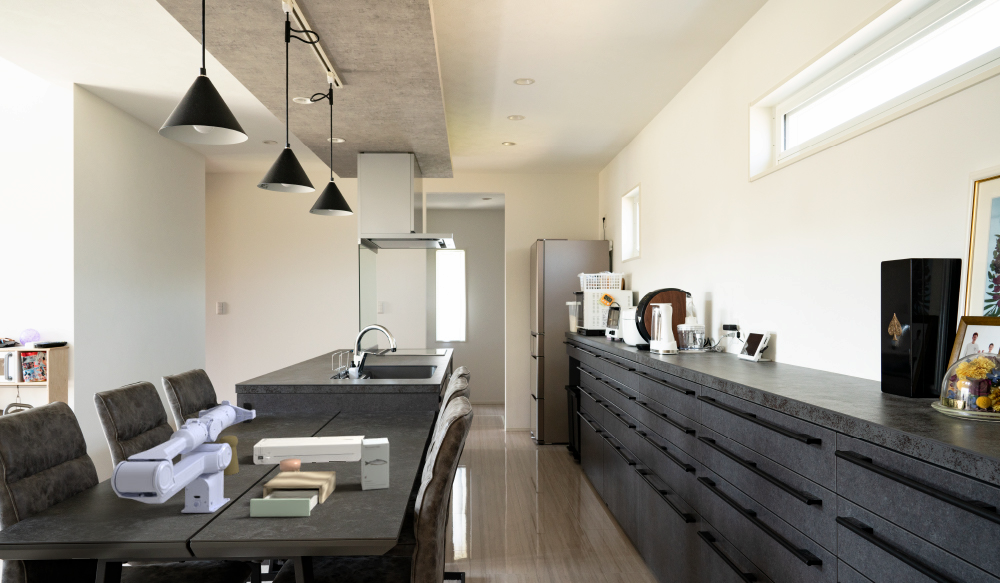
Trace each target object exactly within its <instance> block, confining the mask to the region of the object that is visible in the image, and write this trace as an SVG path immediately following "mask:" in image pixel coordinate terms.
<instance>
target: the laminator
mask: <svg viewBox="0 0 1000 583" xmlns="http://www.w3.org/2000/svg"><path fill="white" fill-rule="evenodd" d="M361 439H366V435H345V436H340V435H339V436H316V437H315V436H313V437H281V438H279V437H278V438H277V437H274V438H272V437H271V438H261V439H260V440H259V441H258V442H256V443H255V444H254V445H253V446H252V464H254V465H255V466H256V465H278V464H279V465H280V461H281V460H284V459H292V458H295V459H300V460H301V464H312V462H316V463H330V462H329V461H346V462H361Z"/></svg>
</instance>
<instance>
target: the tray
mask: <svg viewBox="0 0 1000 583" xmlns="http://www.w3.org/2000/svg"><path fill="white" fill-rule="evenodd" d="M249 502H250V504H249V506H250V507H249V509H250V512H249V515H250V518H252V517H255V518H256V517H259V518H261V517H263V518H264V517H310V516H311V511H312V510H313V509H314V508H315V507H316V505H317V504H319V490H282V491H272V492H271V493H270V494H269V495H268V496H266V497H265V498H264V499H263V498H251V499H250V500H249Z"/></svg>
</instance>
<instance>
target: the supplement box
mask: <svg viewBox="0 0 1000 583" xmlns="http://www.w3.org/2000/svg"><path fill="white" fill-rule="evenodd" d="M388 439H389V438H388V437H380V438H379V437H378V438H365V439H361V460H360V463H361V464H360V466H361V467H360V472H361V473H360V483H361V489H362V491H367V490H377V489H378V490H379V489H389V488H390V442H389V440H388Z"/></svg>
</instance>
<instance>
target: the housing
mask: <svg viewBox="0 0 1000 583" xmlns="http://www.w3.org/2000/svg"><path fill="white" fill-rule="evenodd" d="M336 472H337V471H333V470H331V471H321V470H320V471H300V472H281V471H280V472H278V473H277V474H276V475H274V477H273V478H271V479H270V480H268V481H267V482H266V483H265V484H263V486H262V488H263V490H262V495H263V496H262V499H264V498H265V497H266V496H268V495H269V494H270V493H271V492H272V491H284V490H318V491H319V502H318V504H324V502H325V501H326V500H327V499H328V498H329V496H330V495H331V494H332V493H333V492H334V491H335V489H336V474H337V473H336Z"/></svg>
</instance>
